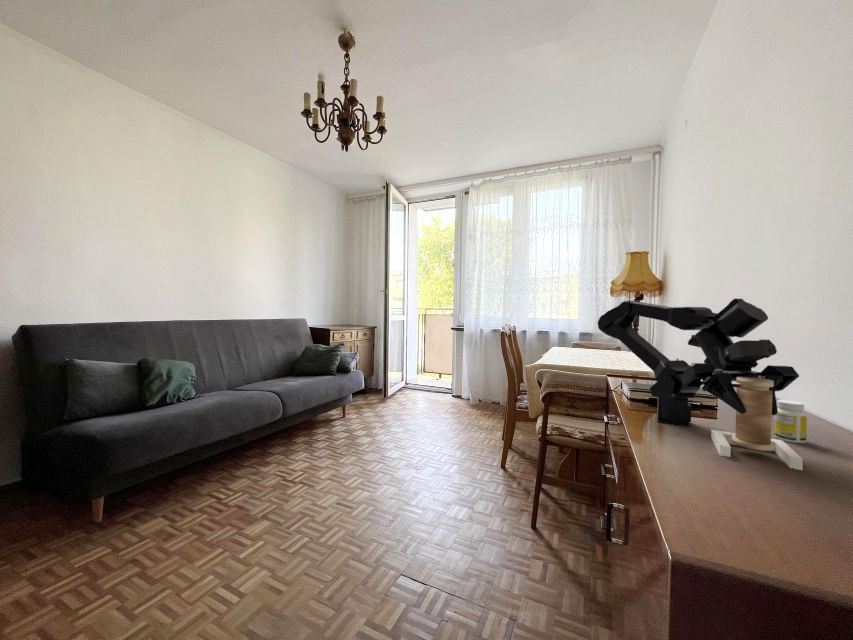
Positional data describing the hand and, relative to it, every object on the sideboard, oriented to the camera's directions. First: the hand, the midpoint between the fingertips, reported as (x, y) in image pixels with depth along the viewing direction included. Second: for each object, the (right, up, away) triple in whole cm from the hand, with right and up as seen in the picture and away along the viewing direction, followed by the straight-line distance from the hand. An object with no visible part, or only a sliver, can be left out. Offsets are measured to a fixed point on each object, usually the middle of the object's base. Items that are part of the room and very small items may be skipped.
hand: (759, 413), depth 64 cm
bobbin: (0, -7, +1) cm, 7 cm away
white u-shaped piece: (0, -8, +1) cm, 9 cm away
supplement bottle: (+17, -9, +10) cm, 21 cm away
